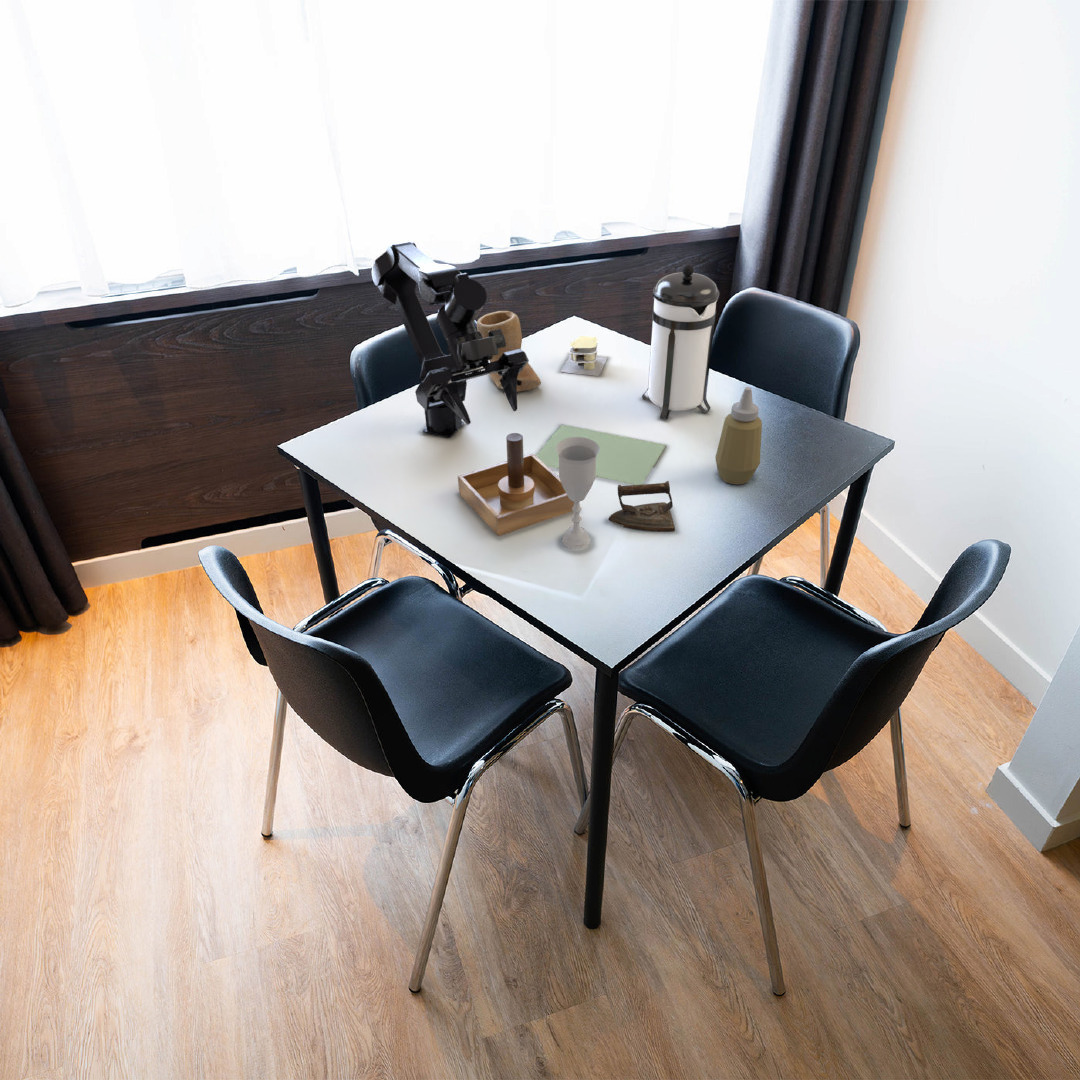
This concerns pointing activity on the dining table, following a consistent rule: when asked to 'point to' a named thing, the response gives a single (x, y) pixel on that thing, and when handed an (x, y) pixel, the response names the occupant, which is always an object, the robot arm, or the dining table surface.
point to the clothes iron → (645, 509)
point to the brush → (515, 477)
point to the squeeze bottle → (740, 442)
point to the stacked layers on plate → (584, 357)
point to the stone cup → (508, 345)
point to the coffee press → (681, 341)
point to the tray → (547, 504)
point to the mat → (609, 454)
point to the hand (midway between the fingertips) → (492, 417)
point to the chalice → (577, 481)
